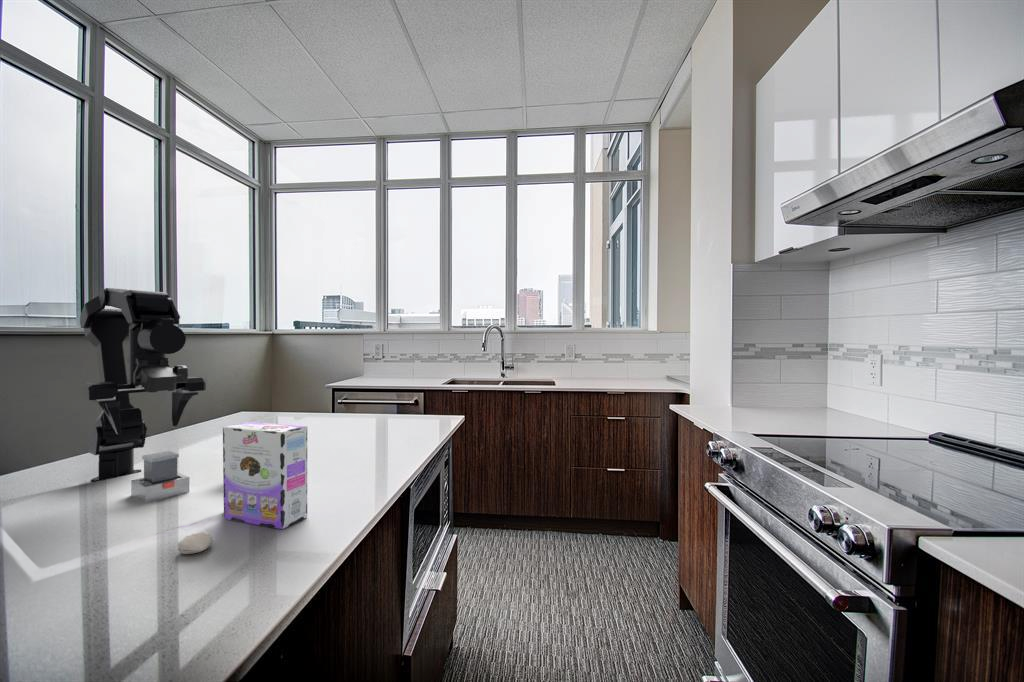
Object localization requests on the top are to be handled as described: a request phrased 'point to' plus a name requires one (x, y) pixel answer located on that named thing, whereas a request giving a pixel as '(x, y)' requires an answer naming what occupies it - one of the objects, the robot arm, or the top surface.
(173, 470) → the column
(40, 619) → the top surface
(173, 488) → the stand base
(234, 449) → the candy box
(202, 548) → the white rounded lump
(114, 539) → the top surface
